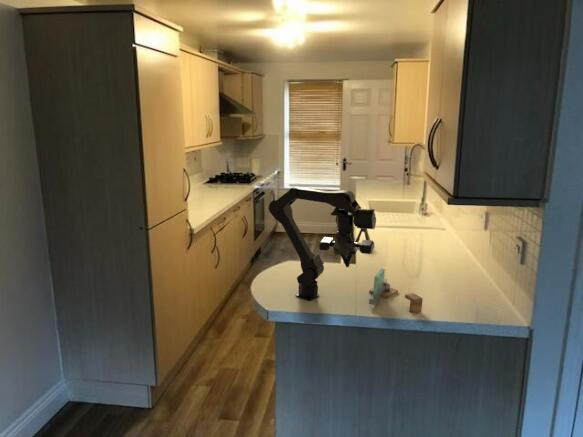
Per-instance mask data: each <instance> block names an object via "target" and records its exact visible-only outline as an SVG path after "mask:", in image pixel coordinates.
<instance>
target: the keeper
mask: <svg viewBox="0 0 583 437" xmlns="http://www.w3.org/2000/svg"><path fill="white" fill-rule="evenodd" d="M404 298H405V299H406V300H408V301H410V302H409V311H408V312H410V313H411V314H413V315H414V314H419V313H422V311H423V310H422V309H423V308H422V307H423V299H424V298H423V297H421V296H419V294H416V293H414V292H413V293H406V294H405V295H404Z"/></svg>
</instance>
